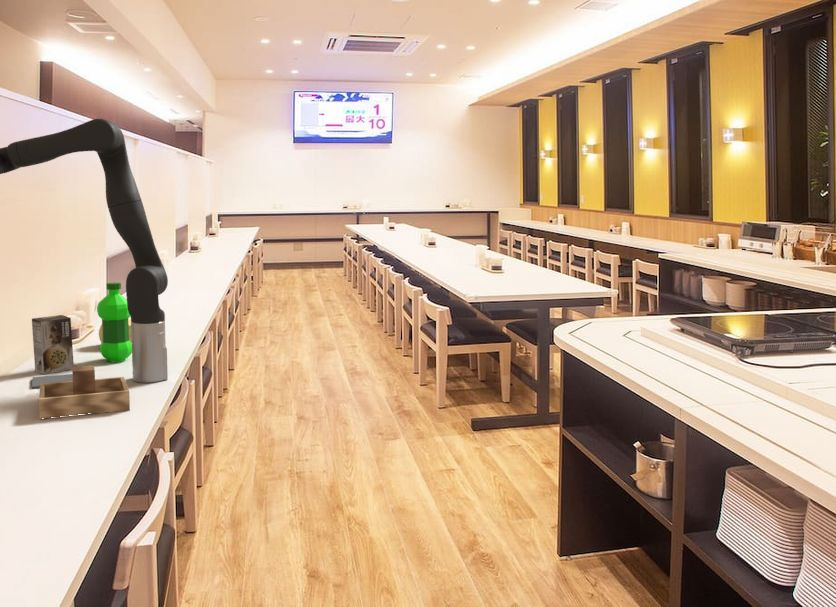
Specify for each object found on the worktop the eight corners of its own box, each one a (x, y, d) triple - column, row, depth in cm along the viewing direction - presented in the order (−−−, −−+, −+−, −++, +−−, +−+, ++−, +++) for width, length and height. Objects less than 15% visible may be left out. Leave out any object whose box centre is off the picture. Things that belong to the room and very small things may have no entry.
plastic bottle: (139, 357, 236) (136, 281, 232) (123, 364, 226) (120, 286, 222) (110, 355, 237) (107, 280, 233) (93, 363, 227) (89, 284, 223)
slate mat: (75, 375, 211) (75, 373, 211) (76, 385, 202) (76, 382, 201) (32, 379, 206) (32, 377, 206) (31, 388, 197) (31, 386, 197)
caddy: (124, 394, 193) (124, 376, 193) (129, 410, 180) (129, 391, 179) (41, 402, 185) (40, 383, 184) (40, 419, 171) (38, 399, 171)
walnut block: (95, 402, 186) (93, 365, 184) (96, 408, 181) (94, 369, 180) (73, 405, 184) (72, 366, 182) (74, 410, 179) (72, 371, 178)
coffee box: (64, 365, 223) (62, 314, 220) (74, 369, 219) (71, 317, 216) (33, 370, 216) (30, 318, 213) (43, 374, 212) (40, 320, 209)
